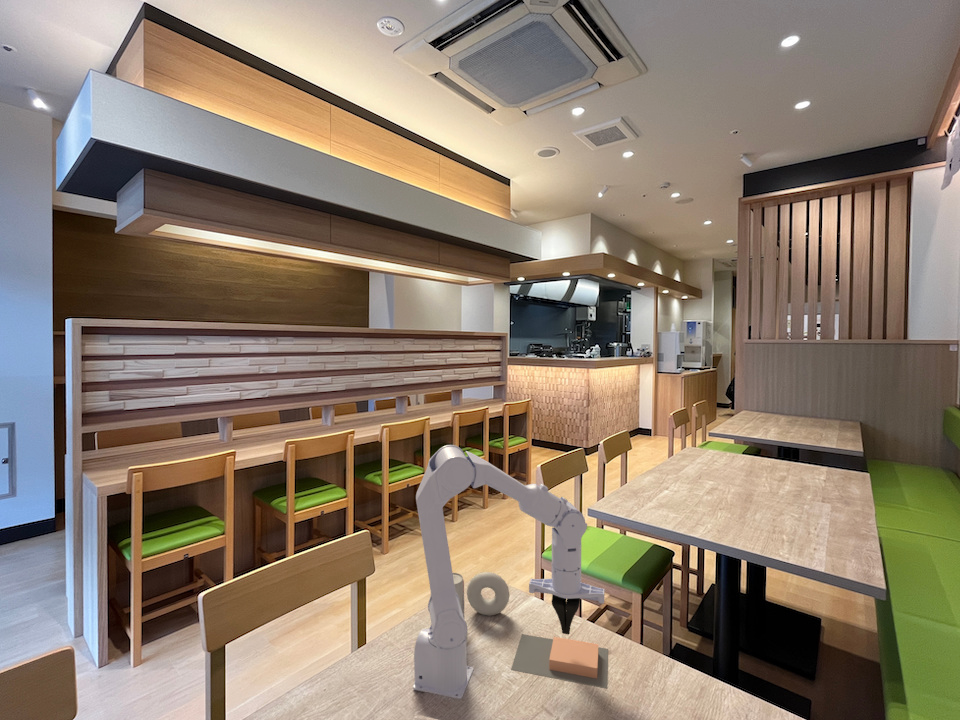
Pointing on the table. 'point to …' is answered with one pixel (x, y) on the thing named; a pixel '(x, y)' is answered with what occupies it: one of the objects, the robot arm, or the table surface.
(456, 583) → the energy drink
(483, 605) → the donut
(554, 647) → the tile
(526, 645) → the mat
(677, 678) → the table surface
